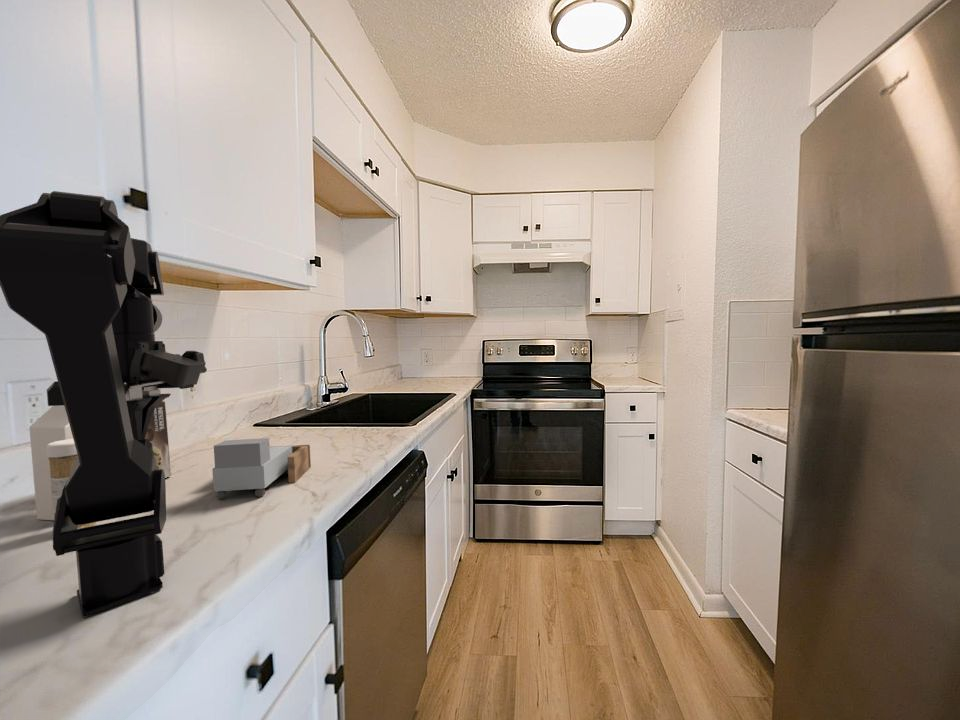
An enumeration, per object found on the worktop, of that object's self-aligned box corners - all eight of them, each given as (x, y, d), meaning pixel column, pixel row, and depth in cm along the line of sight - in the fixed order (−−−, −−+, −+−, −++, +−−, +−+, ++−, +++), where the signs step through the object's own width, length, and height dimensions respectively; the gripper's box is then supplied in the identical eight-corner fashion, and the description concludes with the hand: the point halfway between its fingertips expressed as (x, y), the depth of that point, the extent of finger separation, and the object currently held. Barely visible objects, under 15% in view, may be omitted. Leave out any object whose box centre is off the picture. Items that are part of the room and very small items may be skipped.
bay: (295, 482, 80) (293, 456, 80) (219, 487, 79) (217, 461, 79) (310, 467, 90) (309, 444, 90) (243, 471, 89) (242, 448, 88)
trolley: (264, 497, 73) (261, 443, 72) (213, 501, 72) (209, 446, 71) (293, 472, 87) (291, 426, 87) (251, 474, 86) (248, 428, 86)
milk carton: (71, 522, 65) (61, 401, 64) (36, 520, 66) (26, 401, 65) (119, 504, 72) (111, 395, 71) (86, 503, 73) (78, 395, 72)
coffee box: (145, 477, 87) (139, 400, 87) (172, 477, 86) (167, 400, 86) (100, 492, 78) (93, 407, 78) (129, 493, 77) (123, 407, 77)
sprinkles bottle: (87, 521, 65) (80, 436, 65) (102, 525, 63) (95, 438, 63) (47, 533, 61) (39, 443, 60) (62, 538, 59) (55, 445, 59)
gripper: (142, 330, 48) (152, 463, 49) (225, 333, 67) (231, 430, 67) (37, 333, 47) (48, 469, 48) (151, 336, 66) (158, 434, 66)
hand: (136, 447), depth 57 cm, fingers closed
